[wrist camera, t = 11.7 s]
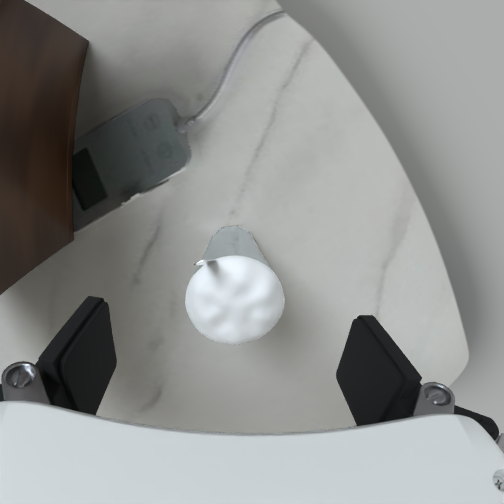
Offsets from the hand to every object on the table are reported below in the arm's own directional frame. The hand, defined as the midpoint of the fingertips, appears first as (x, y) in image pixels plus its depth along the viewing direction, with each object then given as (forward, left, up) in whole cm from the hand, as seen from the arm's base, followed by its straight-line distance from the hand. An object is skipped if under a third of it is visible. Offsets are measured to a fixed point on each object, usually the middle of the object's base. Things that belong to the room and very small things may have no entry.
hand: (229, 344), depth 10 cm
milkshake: (0, 0, -11) cm, 11 cm away
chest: (-7, -19, -11) cm, 23 cm away
